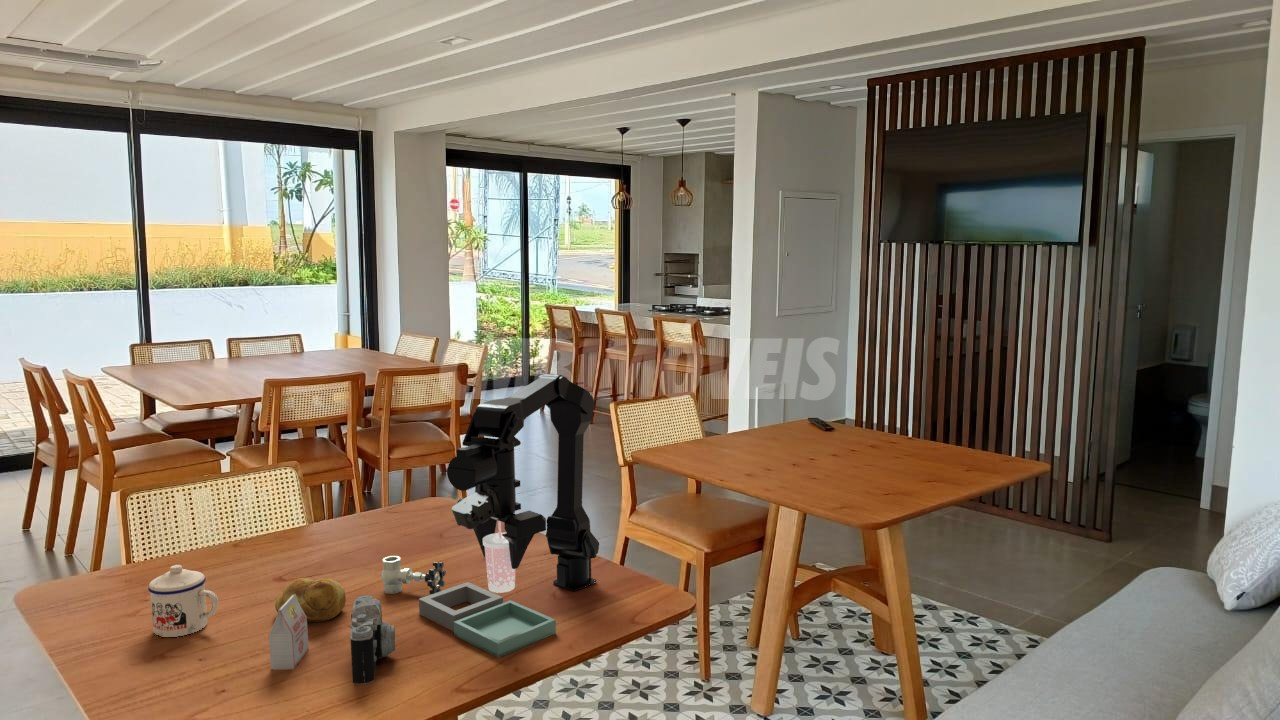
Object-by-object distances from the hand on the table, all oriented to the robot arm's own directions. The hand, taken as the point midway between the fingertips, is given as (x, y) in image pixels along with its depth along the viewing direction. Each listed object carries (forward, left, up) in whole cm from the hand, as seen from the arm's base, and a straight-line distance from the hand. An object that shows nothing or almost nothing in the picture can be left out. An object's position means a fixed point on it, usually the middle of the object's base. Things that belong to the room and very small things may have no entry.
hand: (500, 562), depth 154 cm
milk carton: (+30, -18, -13) cm, 38 cm away
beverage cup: (0, 0, -5) cm, 5 cm away
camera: (+21, -7, -13) cm, 26 cm away
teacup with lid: (+37, -43, -13) cm, 58 cm away
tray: (0, +1, -13) cm, 13 cm away
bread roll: (+19, -33, -13) cm, 40 cm away
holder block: (0, -12, -13) cm, 18 cm away
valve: (+1, -28, -13) cm, 31 cm away
